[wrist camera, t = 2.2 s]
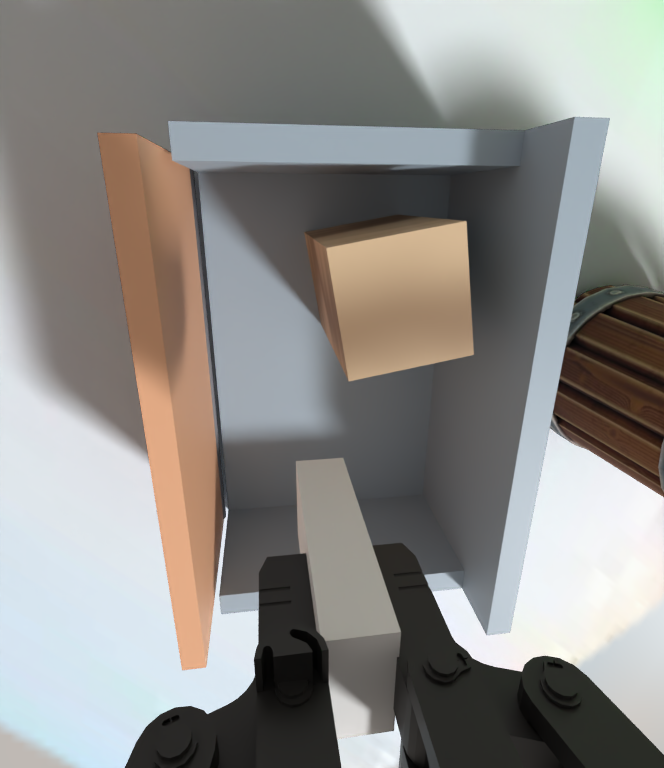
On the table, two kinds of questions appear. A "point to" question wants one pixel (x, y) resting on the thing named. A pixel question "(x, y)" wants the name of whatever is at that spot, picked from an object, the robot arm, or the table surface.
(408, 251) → the wooden block
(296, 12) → the table surface
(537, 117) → the table surface
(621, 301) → the mug
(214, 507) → the panel
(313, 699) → the robot arm
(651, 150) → the table surface
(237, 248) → the box
